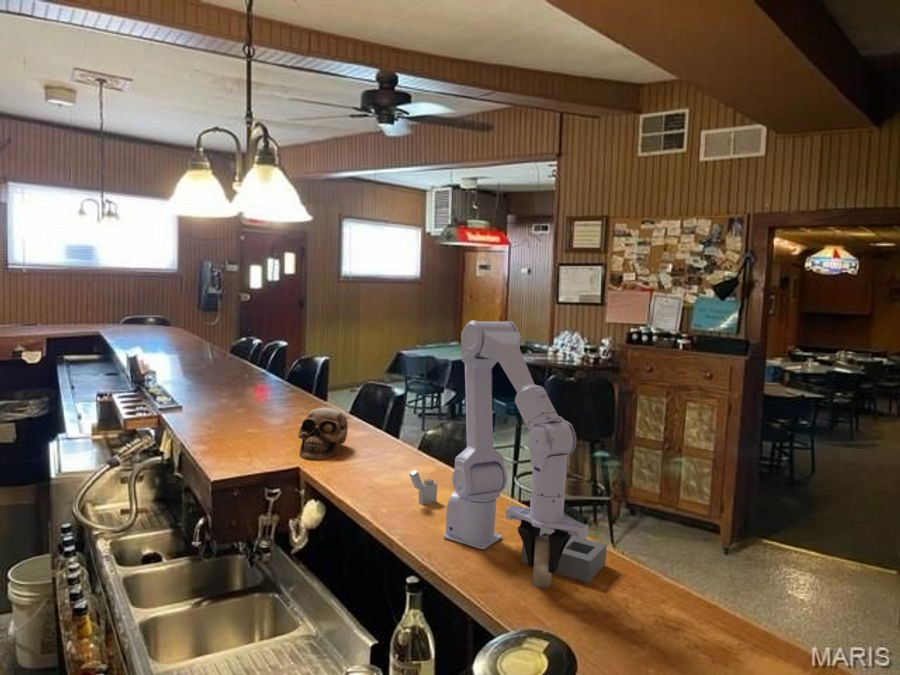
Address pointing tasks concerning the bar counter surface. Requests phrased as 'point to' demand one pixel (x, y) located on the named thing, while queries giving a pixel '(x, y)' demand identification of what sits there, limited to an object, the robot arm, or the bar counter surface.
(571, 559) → the socket block
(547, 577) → the dowel
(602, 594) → the bar counter surface
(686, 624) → the bar counter surface
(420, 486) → the lighter
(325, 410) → the brown skull
